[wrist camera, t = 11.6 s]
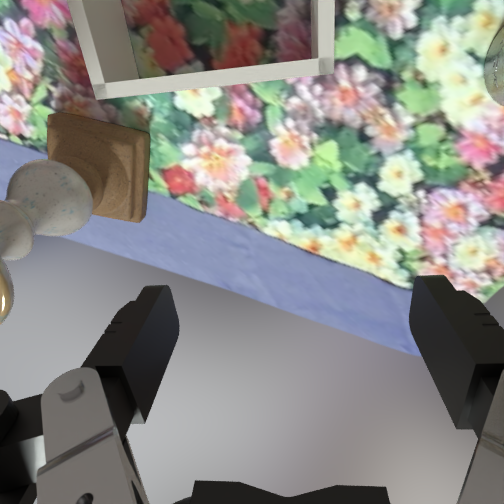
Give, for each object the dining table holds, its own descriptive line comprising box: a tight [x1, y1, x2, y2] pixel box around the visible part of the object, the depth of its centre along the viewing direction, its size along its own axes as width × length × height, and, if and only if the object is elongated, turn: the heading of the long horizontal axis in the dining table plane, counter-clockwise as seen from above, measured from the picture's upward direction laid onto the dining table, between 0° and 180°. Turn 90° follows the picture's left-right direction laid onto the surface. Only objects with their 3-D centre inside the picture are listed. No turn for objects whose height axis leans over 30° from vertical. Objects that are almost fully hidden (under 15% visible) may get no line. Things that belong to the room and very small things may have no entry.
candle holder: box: [0, 112, 150, 324], centre depth 31 cm, size 11×11×24 cm
